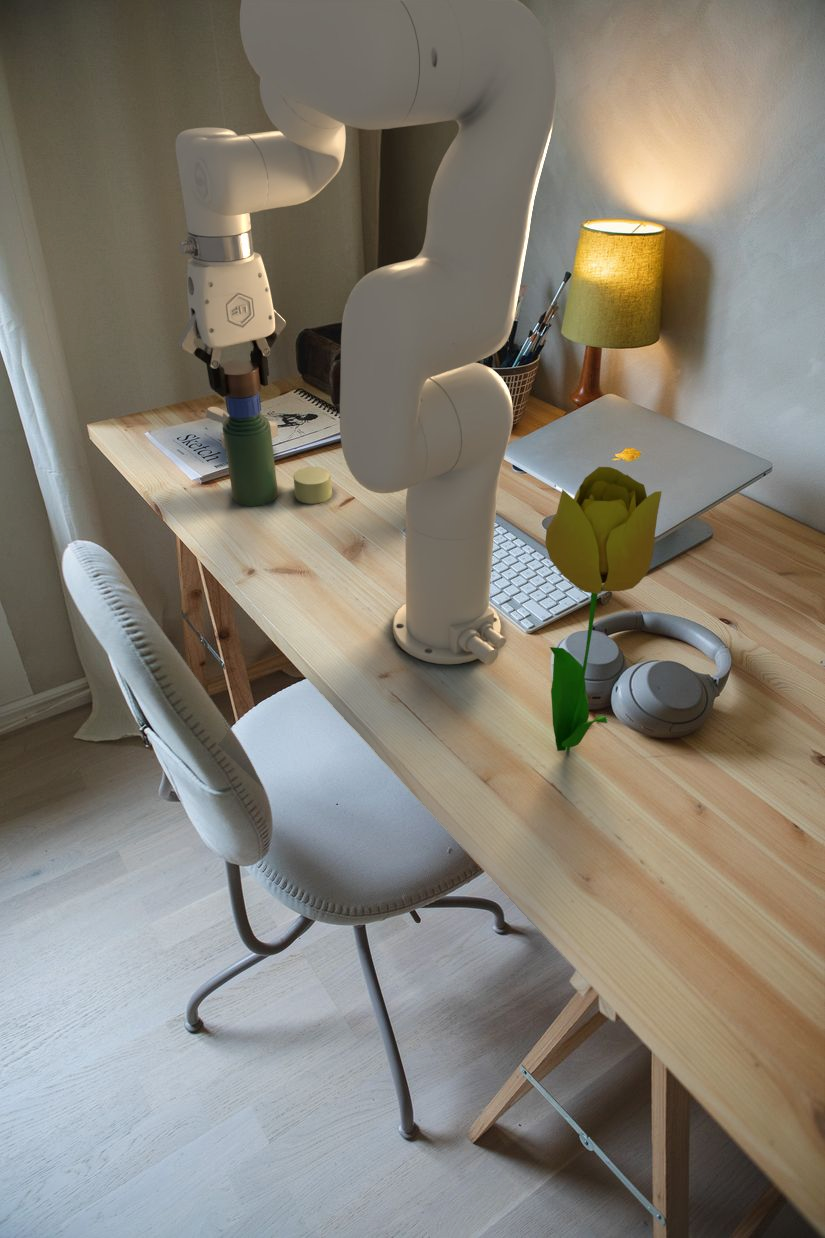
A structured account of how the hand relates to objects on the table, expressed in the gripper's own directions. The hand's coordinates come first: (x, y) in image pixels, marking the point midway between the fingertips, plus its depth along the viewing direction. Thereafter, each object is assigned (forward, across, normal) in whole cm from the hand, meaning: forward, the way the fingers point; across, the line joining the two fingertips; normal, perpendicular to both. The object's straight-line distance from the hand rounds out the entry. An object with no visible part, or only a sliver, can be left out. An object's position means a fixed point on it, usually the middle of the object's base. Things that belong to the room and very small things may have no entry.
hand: (240, 386), depth 112 cm
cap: (+1, 0, 0) cm, 1 cm away
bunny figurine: (+17, +7, +17) cm, 25 cm away
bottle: (+17, 0, 0) cm, 17 cm away
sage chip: (+17, +7, -5) cm, 19 cm away
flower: (+17, +1, -64) cm, 66 cm away
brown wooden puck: (0, 0, 0) cm, 0 cm away
